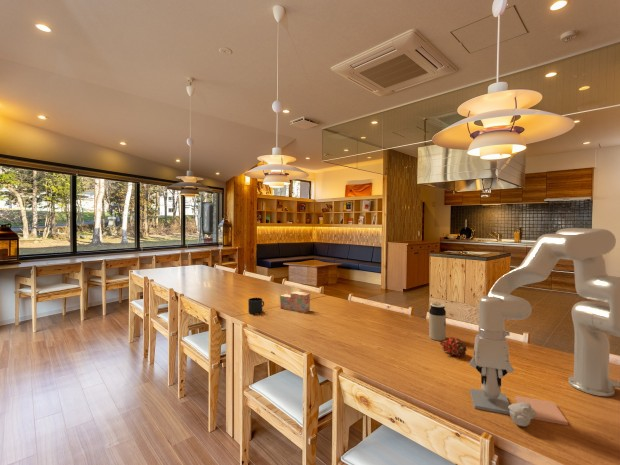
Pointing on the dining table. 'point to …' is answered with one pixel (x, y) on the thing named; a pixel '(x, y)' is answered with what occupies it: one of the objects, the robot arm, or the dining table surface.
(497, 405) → the slate tile
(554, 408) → the terracotta tile
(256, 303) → the mug
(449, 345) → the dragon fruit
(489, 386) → the salt shaker
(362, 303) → the dining table surface
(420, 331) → the dining table surface
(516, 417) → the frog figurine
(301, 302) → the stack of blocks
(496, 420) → the dining table surface
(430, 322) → the travel mug
